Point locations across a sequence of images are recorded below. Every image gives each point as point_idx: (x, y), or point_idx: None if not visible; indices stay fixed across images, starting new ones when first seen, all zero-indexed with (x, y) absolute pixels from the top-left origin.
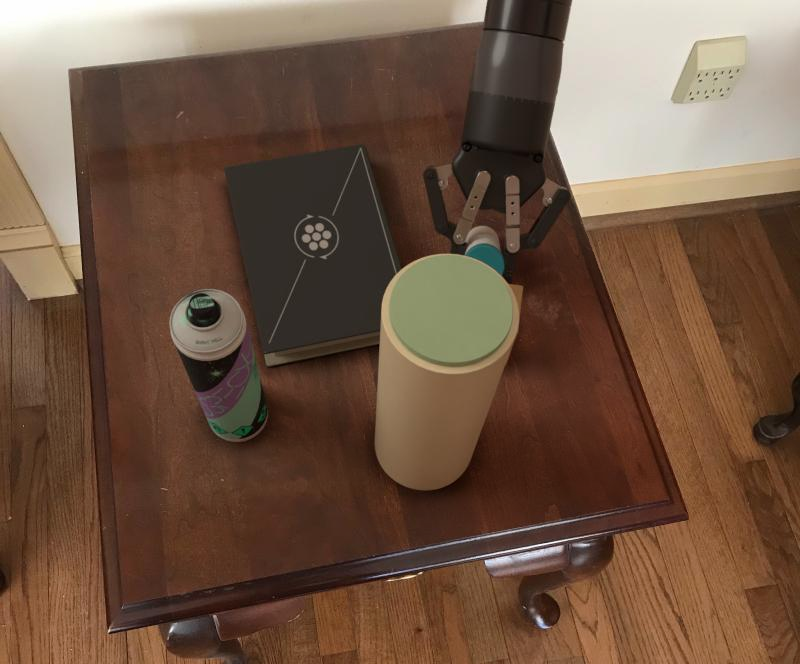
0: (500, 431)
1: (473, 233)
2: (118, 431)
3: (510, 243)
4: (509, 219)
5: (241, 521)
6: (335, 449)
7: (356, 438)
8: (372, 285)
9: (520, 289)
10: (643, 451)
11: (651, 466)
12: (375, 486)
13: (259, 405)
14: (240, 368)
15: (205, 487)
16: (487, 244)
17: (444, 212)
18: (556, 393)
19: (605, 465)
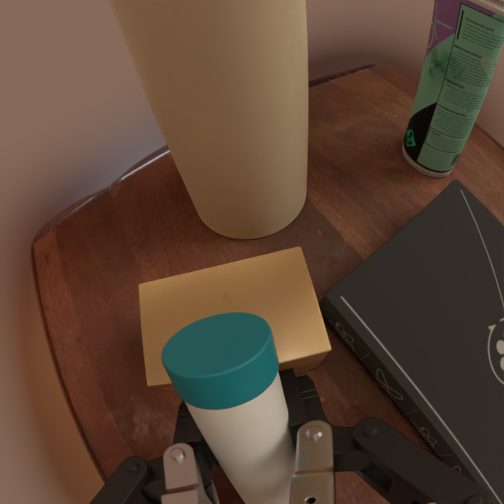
0: (170, 236)
1: None
2: (474, 128)
3: (185, 458)
4: (188, 500)
5: (361, 100)
6: (332, 156)
7: (320, 171)
8: (417, 321)
9: (149, 375)
10: (43, 275)
11: (39, 264)
12: None
13: (414, 115)
14: (432, 20)
15: (400, 110)
16: (219, 396)
17: (381, 460)
18: (116, 306)
19: (71, 248)
